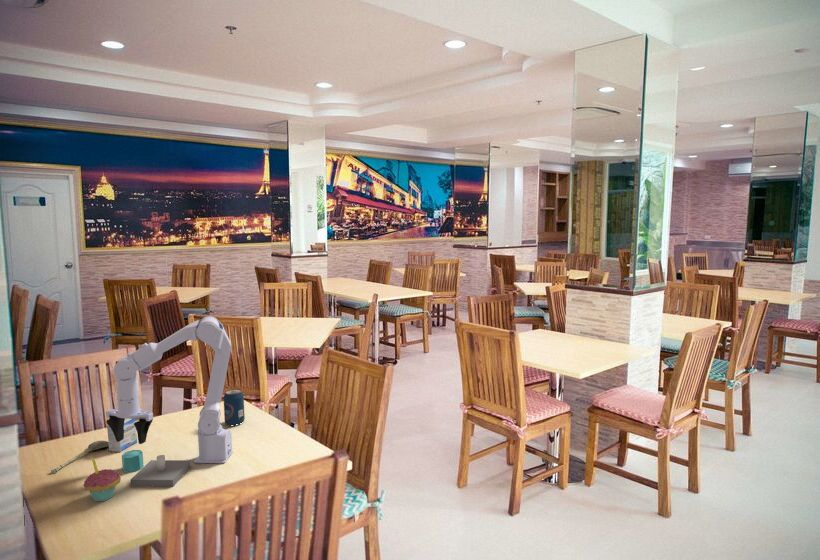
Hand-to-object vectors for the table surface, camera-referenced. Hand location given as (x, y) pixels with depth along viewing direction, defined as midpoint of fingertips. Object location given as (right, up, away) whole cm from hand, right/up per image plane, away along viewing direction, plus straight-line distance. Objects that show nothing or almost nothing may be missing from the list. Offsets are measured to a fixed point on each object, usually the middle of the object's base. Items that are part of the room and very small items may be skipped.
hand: (131, 441), depth 162 cm
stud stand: (+11, -9, -4) cm, 15 cm away
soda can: (+19, -4, +36) cm, 41 cm away
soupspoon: (-19, -8, +9) cm, 23 cm away
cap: (0, -8, +1) cm, 8 cm away
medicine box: (-11, -7, +16) cm, 20 cm away
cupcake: (0, -11, -15) cm, 18 cm away
